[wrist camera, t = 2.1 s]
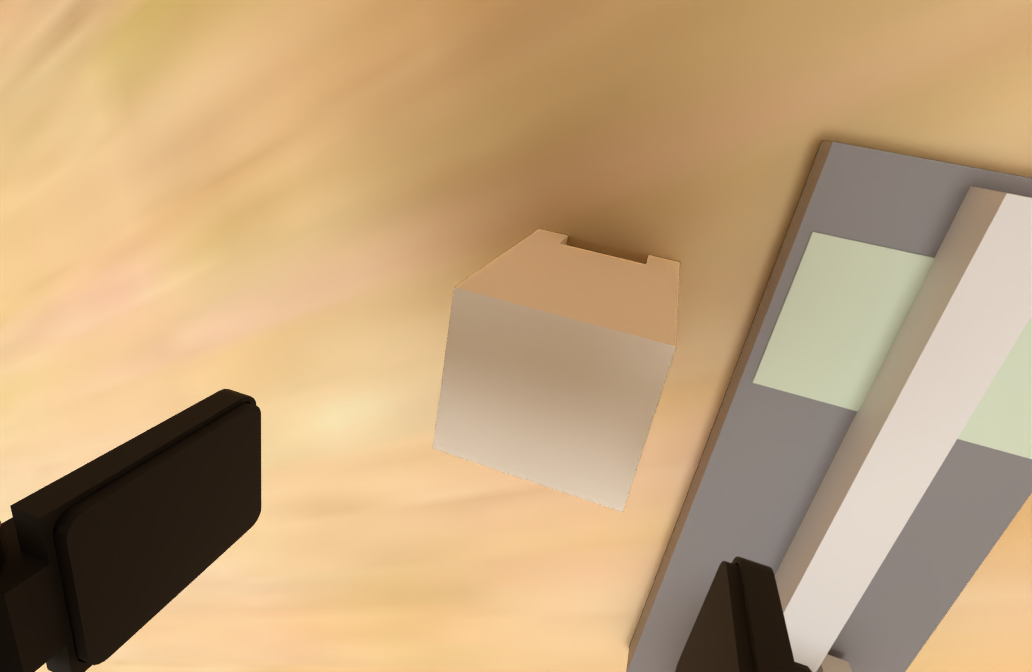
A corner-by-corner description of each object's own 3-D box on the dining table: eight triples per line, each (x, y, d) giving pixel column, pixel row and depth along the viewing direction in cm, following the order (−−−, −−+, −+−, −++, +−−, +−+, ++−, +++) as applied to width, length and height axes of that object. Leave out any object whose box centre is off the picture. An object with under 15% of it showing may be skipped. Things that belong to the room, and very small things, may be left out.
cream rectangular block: (539, 228, 22) (454, 286, 14) (680, 262, 20) (676, 346, 13) (515, 353, 24) (430, 465, 16) (641, 389, 23) (617, 529, 15)
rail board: (821, 140, 18) (981, 155, 8) (1182, 206, 16) (1945, 329, 6) (629, 647, 28) (599, 921, 18) (834, 726, 26) (921, 1079, 16)
